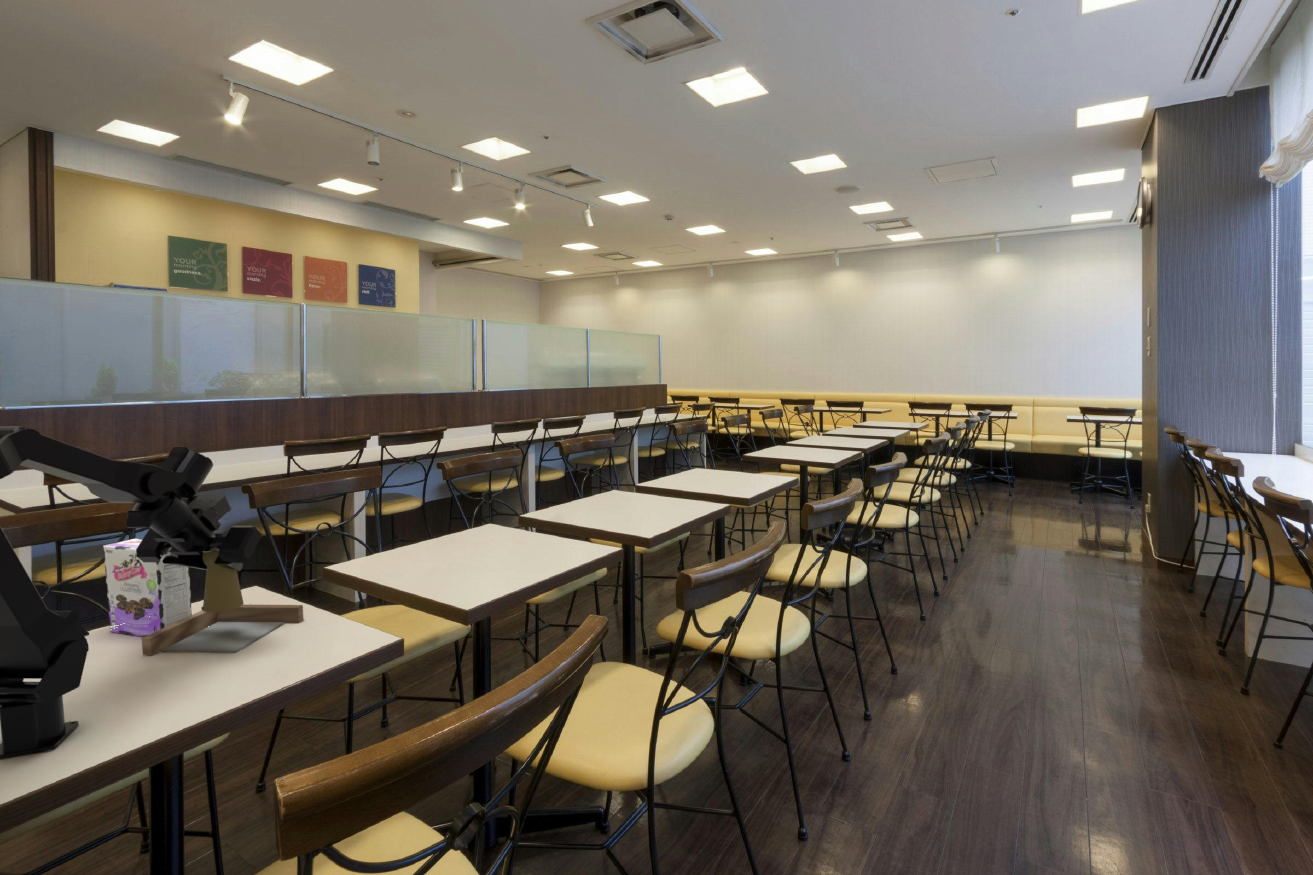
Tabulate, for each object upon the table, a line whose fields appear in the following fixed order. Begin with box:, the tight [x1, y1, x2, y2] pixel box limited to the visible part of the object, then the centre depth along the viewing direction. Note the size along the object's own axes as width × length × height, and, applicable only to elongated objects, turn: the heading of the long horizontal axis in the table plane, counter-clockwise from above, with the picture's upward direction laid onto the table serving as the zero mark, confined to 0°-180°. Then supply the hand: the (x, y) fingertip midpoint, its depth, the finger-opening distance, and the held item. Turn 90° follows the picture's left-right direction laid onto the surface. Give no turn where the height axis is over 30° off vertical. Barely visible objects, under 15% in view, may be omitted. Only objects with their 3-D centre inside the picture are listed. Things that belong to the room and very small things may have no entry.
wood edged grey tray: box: [141, 604, 305, 657], centre depth 114 cm, size 16×19×3 cm
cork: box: [202, 548, 245, 612], centre depth 113 cm, size 6×6×11 cm
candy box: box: [102, 538, 193, 638], centre depth 117 cm, size 14×6×16 cm, turn 73°
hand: (226, 568), depth 114 cm, fingers closed on cork, 5 cm apart
